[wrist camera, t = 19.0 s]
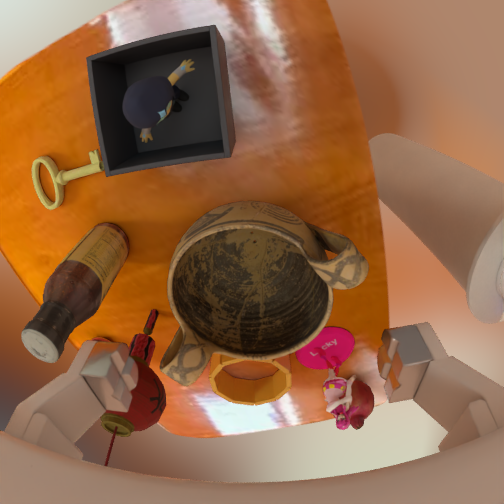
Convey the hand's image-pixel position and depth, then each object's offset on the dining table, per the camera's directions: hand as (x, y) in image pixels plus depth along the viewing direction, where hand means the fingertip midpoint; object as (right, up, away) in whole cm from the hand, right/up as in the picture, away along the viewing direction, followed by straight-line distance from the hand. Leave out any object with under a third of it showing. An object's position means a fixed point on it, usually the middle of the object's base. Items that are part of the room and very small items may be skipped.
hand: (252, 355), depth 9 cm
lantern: (-14, -6, +35) cm, 38 cm away
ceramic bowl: (0, +4, +30) cm, 30 cm away
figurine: (+12, -12, +38) cm, 42 cm away
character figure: (-8, +19, +21) cm, 29 cm away
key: (-23, +13, +25) cm, 36 cm away
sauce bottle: (-18, +5, +29) cm, 35 cm away
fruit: (+18, -21, +43) cm, 52 cm away
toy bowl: (0, -14, +39) cm, 42 cm away
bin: (-8, +19, +21) cm, 30 cm away
